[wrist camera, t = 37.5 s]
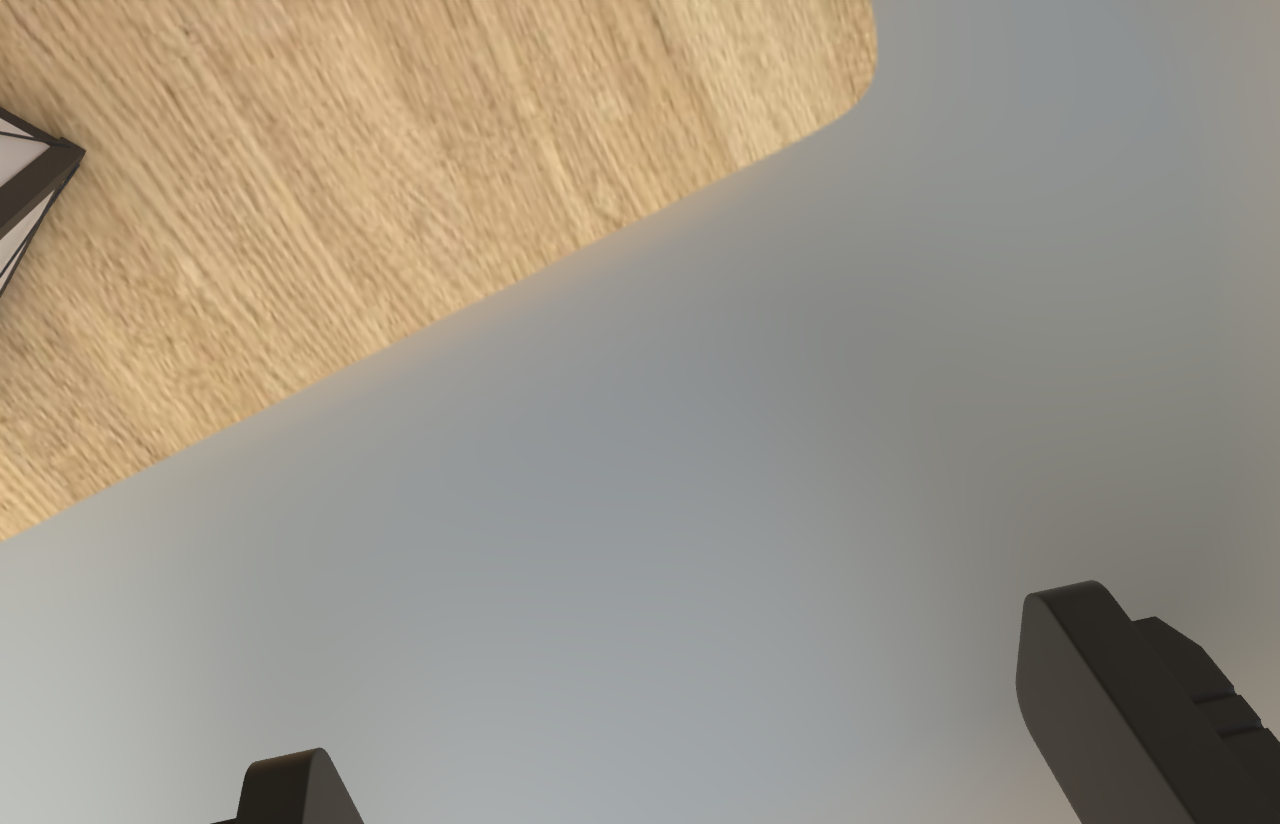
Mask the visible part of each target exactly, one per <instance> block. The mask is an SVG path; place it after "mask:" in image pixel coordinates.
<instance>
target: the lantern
mask: <svg viewBox="0 0 1280 824" xmlns="http://www.w3.org/2000/svg"><path fill="white" fill-rule="evenodd" d="M85 152H86V150H84V149H82V148H80V147H79V146H77V145H75V144H73V143H72V142H70V141H68V140H66V139H64V138H63V137H62V138H61V139H59V140H57V139H55V138H54V137H52V136H50V135H48V134H47V133H45V132H43V131H41V130H40V129H38V128H36V127H34V126H33V125H31V124H29V123H27V122H26V121H24V120H22V119H20V118H18V117H17V116H15V115H13V114H11V113H10V112H8V111H6V110H4V109H3V108H1V107H0V297H1V295H2V293H3V292H4V290H5V288H6V286H7V284H8V282H9V281H10V279H11V277H12V275H13V273H14V271H15V269H16V268H17V266H18V264H19V262H20V260H21V258H22V257H23V255H24V253H25V251H26V249H27V247H28V245H29V244H30V242H31V240H32V238H33V236H34V234H35V233H36V231H37V229H38V227H39V225H40V223H41V221H42V220H43V218H44V216H45V214H46V213H47V211H48V210H49V208H50V207H51V206H52V204H53V203H54V201H55V200H56V198H57V197H58V196H59V194H60V193H61V191H62V190H63V189H64V187H65V186H66V184H67V183H68V181H69V180H70V179H71V177H72V176H73V174H74V173H75V171H76V170H77V169H78V167H79V166H80V164H79V163H80V161H81V159H82V157H83V155H84V154H85ZM66 178H67V179H66ZM65 179H66V180H65ZM64 180H65V182H64V183H63V181H64ZM62 183H63V185H62ZM61 185H62V186H61ZM60 186H61V187H60ZM59 188H60V189H59Z"/></svg>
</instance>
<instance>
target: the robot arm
mask: <svg viewBox="0 0 1280 824" xmlns="http://www.w3.org/2000/svg"><path fill="white" fill-rule="evenodd" d="M1016 691H1017V697H1018V702H1019V706H1020V709H1021V712H1022V715H1023V718H1024V721H1025V723H1026V726H1027V728H1028V730H1029V732H1030V734H1031V736H1032V738H1033V740H1034V741H1035V743H1036V745H1037V747H1038V748H1039V750H1040V752H1041V754H1042V755H1043V757H1044V759H1045V760H1046V762H1047V764H1048V766H1049V767H1050V769H1051V771H1052V773H1053V774H1054V776H1055V778H1056V780H1057V781H1058V783H1059V785H1060V787H1061V788H1062V790H1063V792H1064V793H1065V795H1066V797H1067V799H1068V800H1069V802H1070V804H1071V806H1072V807H1073V809H1074V811H1075V813H1076V814H1077V816H1078V818H1079V819H1080V821H1081V823H1082V824H1280V742H1279V741H1278V740H1277V739H1276V737H1275V736H1274V735H1273V734H1272V732H1271V731H1270V730H1269V729H1268V728H1264V727H1263V726H1262V724H1261V719H1260V718H1259V717H1258V715H1257V714H1256V713H1255V712H1254V710H1253V709H1252V708H1251V707H1250V706H1249V704H1248V703H1247V702H1246V701H1245V699H1244V698H1243V697H1242V696H1241V695H1237V694H1236V693H1235V691H1234V686H1233V685H1232V684H1231V682H1230V681H1229V680H1228V679H1227V677H1226V676H1225V675H1224V674H1223V673H1222V671H1221V670H1220V669H1219V668H1218V667H1217V665H1216V664H1215V663H1214V662H1213V660H1212V659H1211V658H1210V657H1209V655H1208V654H1207V653H1206V652H1205V651H1204V649H1203V648H1202V647H1201V646H1199V645H1198V644H1196V643H1195V642H1193V641H1192V640H1190V639H1189V638H1187V637H1186V636H1184V635H1183V634H1181V633H1180V632H1178V631H1177V630H1175V629H1174V628H1172V627H1171V626H1169V625H1168V624H1166V623H1165V622H1163V621H1161V620H1160V619H1159V618H1157V617H1150V618H1146V619H1141V620H1137V621H1131V620H1130V619H1129V617H1128V616H1127V614H1126V613H1125V612H1124V611H1123V609H1122V608H1121V607H1120V605H1119V604H1118V603H1117V601H1115V599H1114V597H1113V596H1112V595H1111V594H1110V593H1109V591H1108V590H1107V589H1106V588H1105V587H1104V586H1103V585H1102V584H1100V583H1099V582H1097V581H1092V580H1090V581H1085V582H1081V583H1076V584H1072V585H1067V586H1063V587H1058V588H1054V589H1049V590H1044V591H1040V592H1035V593H1031V594H1029V595H1027V597H1026V598H1025V601H1024V605H1023V613H1022V623H1021V633H1020V643H1019V652H1018V662H1017V672H1016ZM212 824H364V823H363V821H362V819H361V817H360V815H359V813H358V811H357V809H356V807H355V805H354V803H353V801H352V799H351V797H350V795H349V793H348V791H347V789H346V788H345V786H344V784H343V782H342V780H341V778H340V776H339V774H338V772H337V770H336V768H335V766H334V764H333V762H332V761H331V758H330V757H329V755H328V753H327V752H326V751H325V750H324V749H323V748H315V749H311V750H306V751H302V752H297V753H293V754H288V755H284V756H279V757H275V758H270V759H266V760H261V761H256V762H254V763H252V764H251V765H250V766H249V768H248V770H247V772H246V774H245V778H244V782H243V787H242V791H241V797H240V801H239V807H238V811H237V817H236V818H235V819H230V820H226V821H221V822H217V823H212Z"/></svg>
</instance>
